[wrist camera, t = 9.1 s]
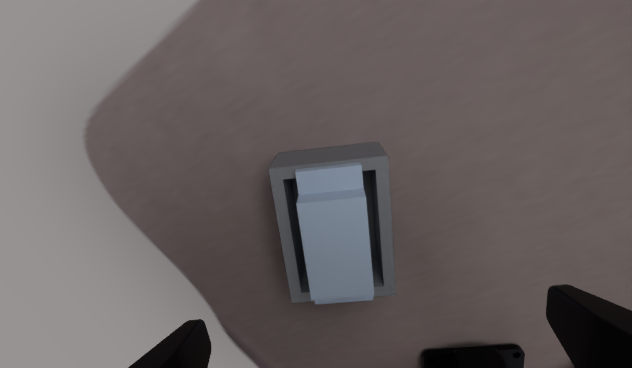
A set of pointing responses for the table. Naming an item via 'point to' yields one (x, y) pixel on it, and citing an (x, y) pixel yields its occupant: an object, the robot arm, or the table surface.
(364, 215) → the block
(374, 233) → the pocket block
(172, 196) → the table surface
